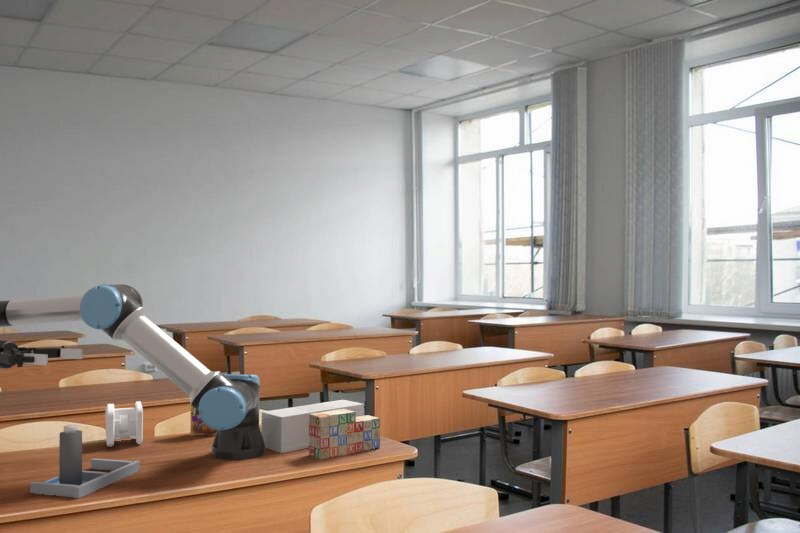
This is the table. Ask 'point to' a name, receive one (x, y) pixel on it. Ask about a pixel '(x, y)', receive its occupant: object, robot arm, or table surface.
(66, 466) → the grey bottle
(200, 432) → the candy box
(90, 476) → the grey frame
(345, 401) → the long white block
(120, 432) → the cable organizer
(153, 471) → the table surface
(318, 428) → the stack of blocks
